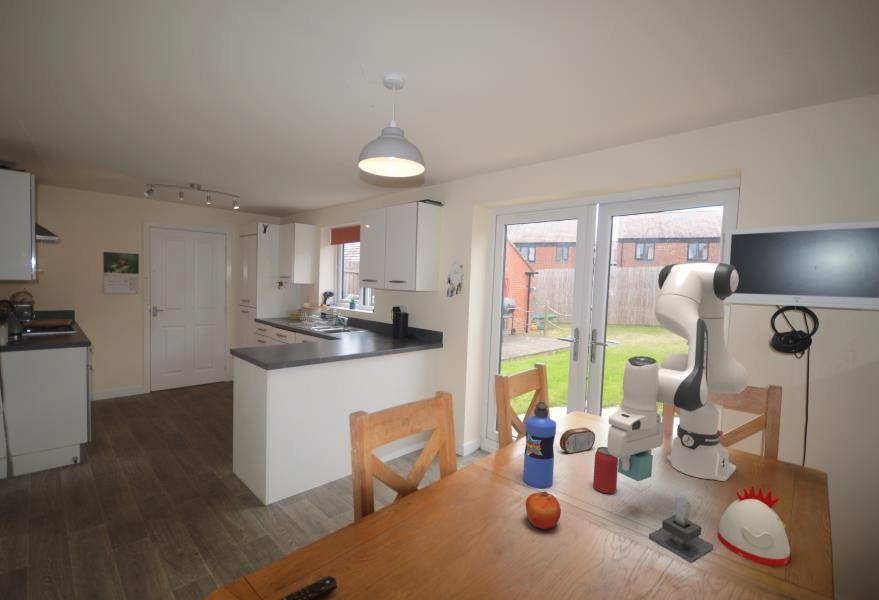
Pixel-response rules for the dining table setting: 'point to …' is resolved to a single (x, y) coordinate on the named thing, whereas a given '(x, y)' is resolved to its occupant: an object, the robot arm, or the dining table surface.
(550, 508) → the tomato
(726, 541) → the kitchen timer
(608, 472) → the beer can
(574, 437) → the tin
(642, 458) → the sleeve
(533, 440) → the water bottle
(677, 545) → the pipe stand
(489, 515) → the dining table surface
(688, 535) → the ring
